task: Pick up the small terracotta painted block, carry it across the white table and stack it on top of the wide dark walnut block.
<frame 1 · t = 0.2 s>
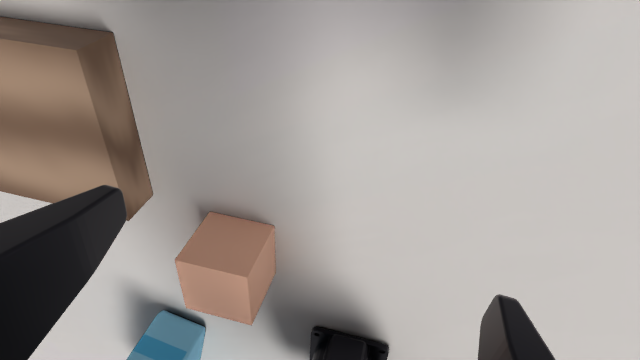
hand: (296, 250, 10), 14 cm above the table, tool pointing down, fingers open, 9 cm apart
data package: (183, 341, 44), on the table
terracotta block: (244, 242, 32), on the table
walnut block: (57, 109, 29), on the table
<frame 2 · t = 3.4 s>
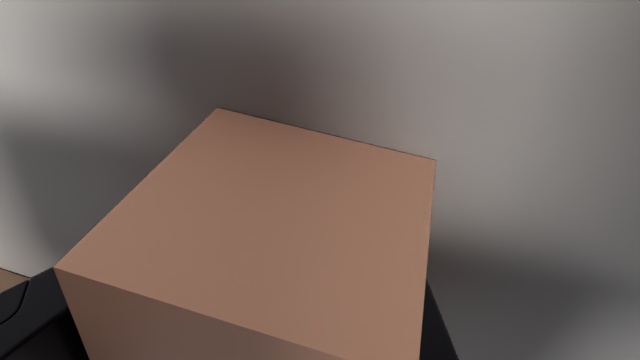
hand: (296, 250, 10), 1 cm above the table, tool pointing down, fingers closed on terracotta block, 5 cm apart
terracotta block: (310, 216, 11), on the table, touching gripper
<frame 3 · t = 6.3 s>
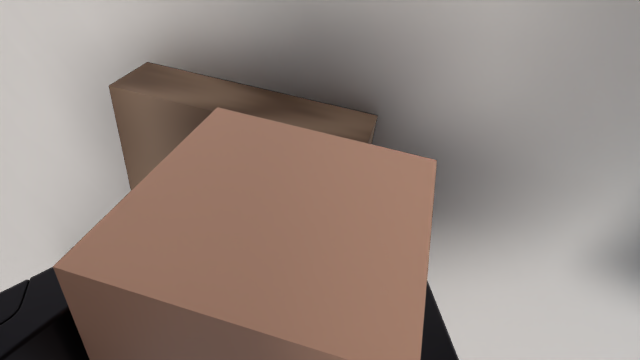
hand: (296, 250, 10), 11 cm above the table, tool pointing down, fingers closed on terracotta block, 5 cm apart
terracotta block: (311, 216, 11), point 10 cm above the table, touching gripper
walnut block: (255, 183, 25), on the table
when the fingers open (5 cm above the table, at t = 9.6 s): terracotta block drops 1 cm, resting on walnut block.
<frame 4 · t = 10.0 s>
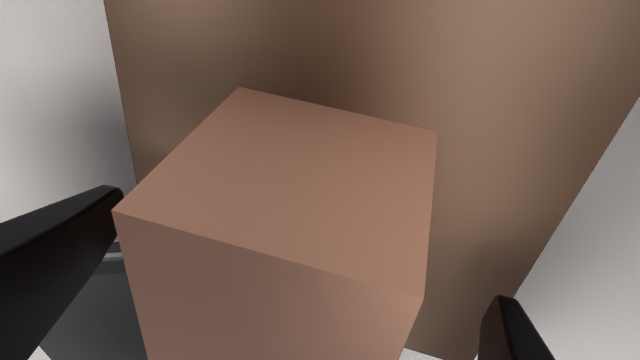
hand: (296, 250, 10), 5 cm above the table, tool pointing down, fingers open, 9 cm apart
terracotta block: (323, 188, 12), point 3 cm above the table, touching walnut block
walnut block: (345, 136, 14), on the table
media streaming box: (176, 328, 26), on the table
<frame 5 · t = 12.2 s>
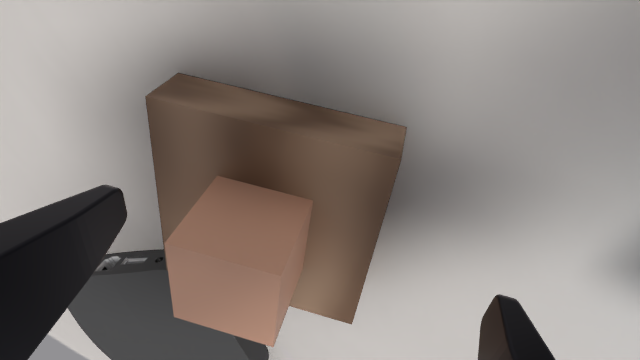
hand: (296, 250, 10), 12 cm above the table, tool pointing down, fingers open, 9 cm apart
terracotta block: (262, 224, 23), point 3 cm above the table, touching walnut block
walnut block: (279, 192, 25), on the table
media streaming box: (177, 311, 36), on the table
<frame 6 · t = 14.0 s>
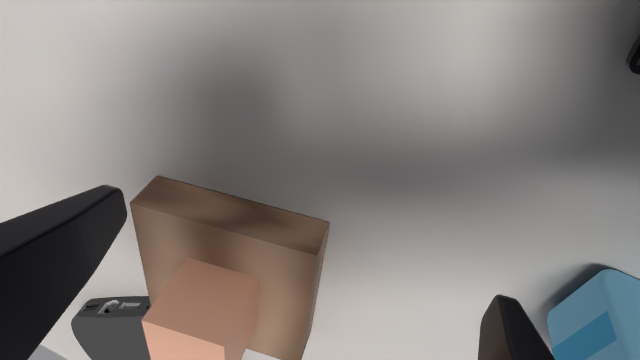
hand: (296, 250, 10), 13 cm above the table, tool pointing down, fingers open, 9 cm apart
terracotta block: (222, 291, 29), point 3 cm above the table, touching walnut block
walnut block: (240, 260, 31), on the table
media streaming box: (167, 342, 43), on the table
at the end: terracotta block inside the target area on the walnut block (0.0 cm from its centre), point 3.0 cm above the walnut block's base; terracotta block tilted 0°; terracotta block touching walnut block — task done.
